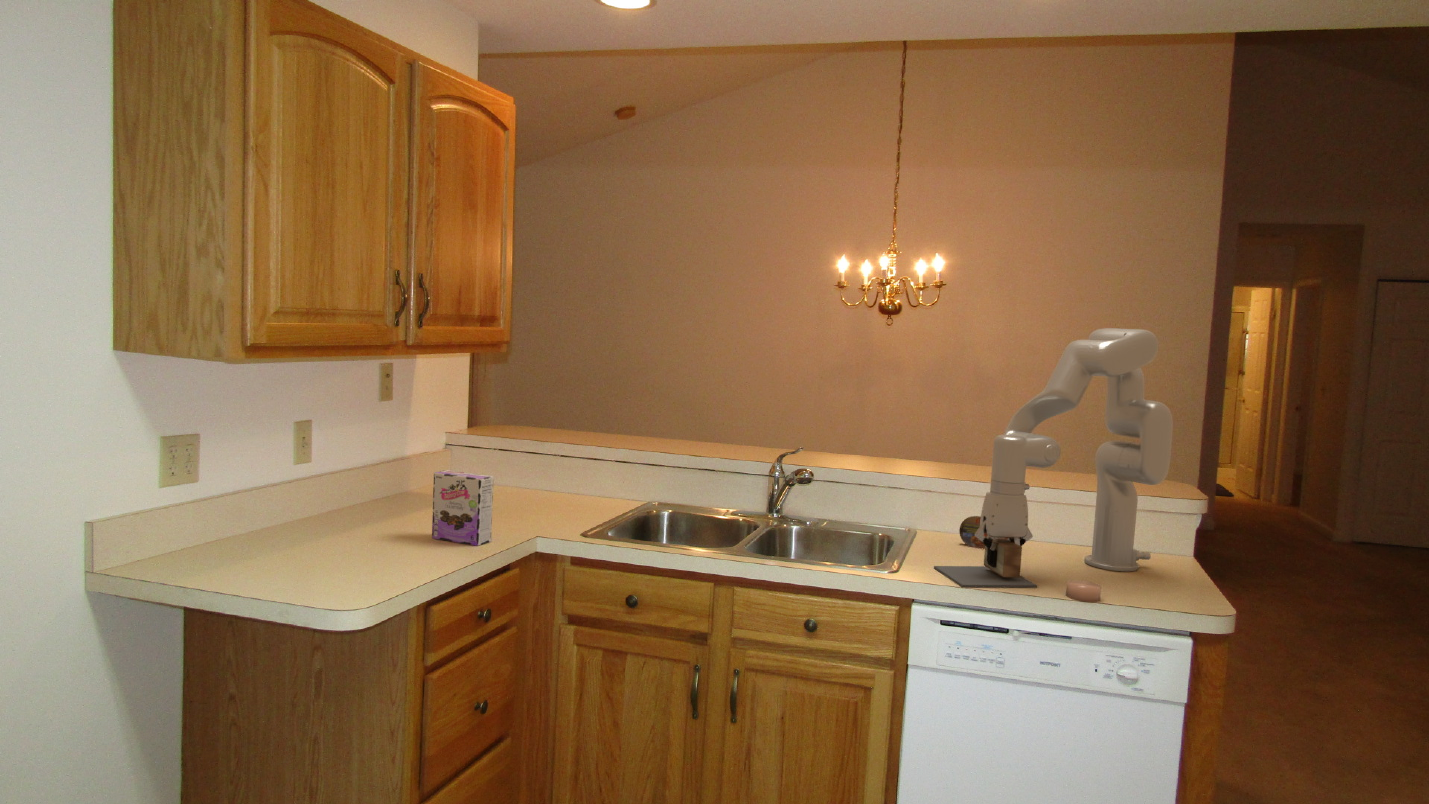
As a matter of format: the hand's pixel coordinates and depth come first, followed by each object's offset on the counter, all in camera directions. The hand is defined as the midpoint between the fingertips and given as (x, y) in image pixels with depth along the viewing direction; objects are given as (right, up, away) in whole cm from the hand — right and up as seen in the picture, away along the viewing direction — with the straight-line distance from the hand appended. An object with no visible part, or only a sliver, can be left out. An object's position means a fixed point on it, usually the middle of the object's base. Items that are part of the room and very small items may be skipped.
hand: (1001, 565), depth 216 cm
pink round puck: (+14, -5, -13) cm, 19 cm away
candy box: (-128, +4, +10) cm, 129 cm away
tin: (+6, -1, +31) cm, 31 cm away
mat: (-4, -3, -1) cm, 5 cm away
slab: (0, -1, 0) cm, 1 cm away
